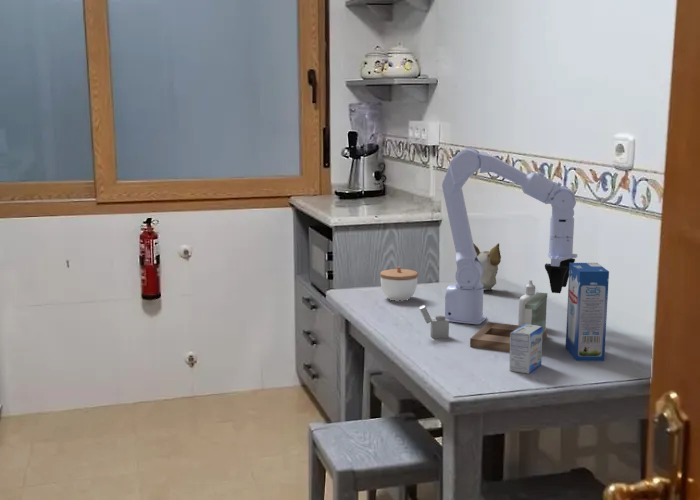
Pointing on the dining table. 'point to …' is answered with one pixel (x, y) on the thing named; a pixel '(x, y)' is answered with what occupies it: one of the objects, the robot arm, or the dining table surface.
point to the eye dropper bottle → (524, 314)
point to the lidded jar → (398, 283)
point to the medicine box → (526, 348)
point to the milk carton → (587, 311)
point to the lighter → (436, 324)
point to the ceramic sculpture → (489, 265)
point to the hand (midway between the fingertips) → (558, 289)
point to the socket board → (510, 327)
